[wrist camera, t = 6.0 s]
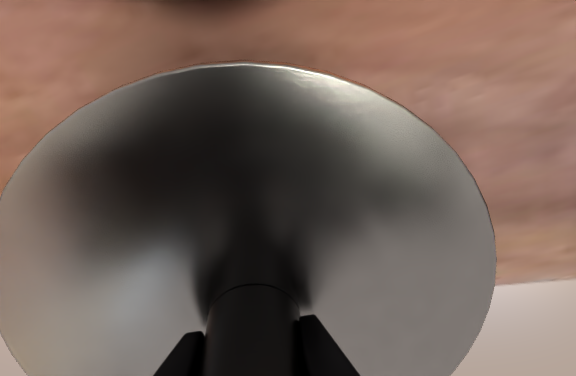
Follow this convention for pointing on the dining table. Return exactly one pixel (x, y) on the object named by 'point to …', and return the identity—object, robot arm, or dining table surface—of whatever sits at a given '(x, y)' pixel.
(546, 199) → the dining table surface
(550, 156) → the dining table surface
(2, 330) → the lid
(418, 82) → the dining table surface
